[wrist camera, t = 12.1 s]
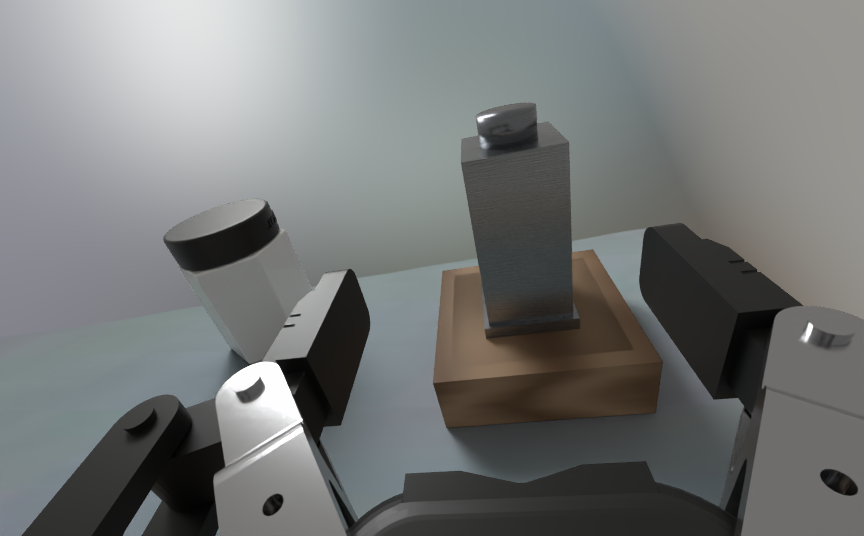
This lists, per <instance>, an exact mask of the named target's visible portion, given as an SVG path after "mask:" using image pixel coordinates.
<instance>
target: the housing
mask: <svg viewBox="0 0 864 536" xmlns="http://www.w3.org/2000/svg"><path fill="white" fill-rule="evenodd" d="M476 122H477V129H478V136H474V137H469V138H464V139H462V145H461V165H462V171H463V176H464V182H465V188H466V193H467V200H468V206H469V211H470V217H471V223H472V229H473V235H474V240H475V246H476V252H477V258H478V264H479V270H480V275H481V287H482V302H483V316H484V329H485V335H486V339H490V338H499V337H508V336H517V335H527V334H536V333H545V332H554V331H563V330H573V329H580V317H579V314H578V312H577V310H576V307H575V305H574V302H573V278H572V239H571V200H570V161H569V141H567V140H566V139H565V138H564V137H563V136H562V135H561V134H560V133H559V132H558V131H557V130H556V129H555V128H554V127H553V126H552V125H551V124H550V123H549V122H544V123H539V124H537V114H536V104H535V103H517V104H510V105H504V106H500V107H496V108H492V109H489V110H486V111H483V112H481V113H479V114H477V115H476Z"/></svg>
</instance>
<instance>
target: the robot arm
mask: <svg viewBox="0 0 864 536" xmlns="http://www.w3.org/2000/svg"><path fill="white" fill-rule="evenodd" d="M639 283H640V290H641V293H642V296H643V298H644V300H645V302H646V303H647V305H648V306H649V308H650V309H651V311H652V312H653V313H654V315H655V316H656V318H657V319H658V321H659V322H660V323H661V325H662V326H663V328H664V329H665V330H666V332H667V333H668V335H669V336H670V338H671V339H672V340H673V342H674V343H675V345H676V346H677V348H678V349H679V350H680V352H681V353H682V355H683V356H684V358H685V359H686V360H687V362H688V363H689V365H690V366H691V368H692V369H693V370H694V372H695V373H696V375H697V376H698V378H699V379H700V380H701V382H702V383H703V385H704V386H705V388H706V389H707V390H708V392H709V393H710V395H711V396H712V398H713V399H728V398H739V400H740V401H741V402H742V404H743V405H744V408H743V411H742V414H741V417H740V421H739V426H738V430H737V435H736V439H735V444H734V448H733V453H732V457H731V462H730V466H729V471H728V475H727V480H726V484H725V488H724V492H723V496H722V499H721V503H720V506H719V507H718V506H716V505H714V504H712V503H710V502H708V501H706V500H704V499H703V498H701V497H698V496H696V495H693V494H691V493H689V492H686V491H684V490H681V489H678V488H675V487H671V486H668V485H665V484H661V483H656V482H655V481H654V479H653V477H652V475H651V472H650V470H649V468H648V466H647V463H646V461H644V462H625V463H605V464H586V465H580V466H577V467H574V468H570V469H567V470H564V471H561V472H558V473H555V474H552V475H549V476H546V477H543V478H540V479H537V480H534V481H530V482H527V483H514V482H510V481H505V480H500V479H496V478H491V477H486V476H482V475H477V474H472V473H468V472H463V471H448V472H429V473H409V474H405V483H404V491H403V493H402V494H399V495H396V496H394V497H392V498H390V499H388V500H386V501H384V502H382V503H380V504H379V505H377V506H376V507H374V508H372V509H371V510H370V511H368V512H367V513H366V514H365V515H363V516H362V517H361V518H360V519H358V517H357V515H356V513H355V511H354V510H353V508H352V506H351V504H350V501H349V499H348V497H347V495H346V493H345V491H344V488H343V486H342V484H341V482H340V480H339V478H338V475H337V473H336V471H335V469H334V467H333V464H332V462H331V460H330V458H329V456H328V453H327V451H326V449H325V447H324V445H323V443H322V441H321V439H320V436H321V433H322V430H323V427H326V426H340V425H341V423H342V420H343V416H344V413H345V410H346V407H347V403H348V400H349V397H350V393H351V390H352V387H353V384H354V380H355V377H356V374H357V370H358V367H359V364H360V361H361V357H362V354H363V351H364V347H365V344H366V341H367V337H368V334H369V331H370V316H369V311H368V308H367V305H366V303H365V300H364V297H363V294H362V292H361V289H360V286H359V283H358V280H357V278H356V275H355V273H354V272H353V271H352V270H351V269H346V270H339V271H332V272H326V273H325V274H324V275H323V277H322V278H321V280H320V282H319V284H318V285H317V287H316V289H315V291H310V292H309V293H308V294H307V295H306V296H304V297H303V298H302V299H301V300H300V301H299V302H298V303H297V304H296V306H295V308H294V309H293V311H292V313H291V314H290V317H289V318H288V319H287V321H286V322H285V324H284V328H282V329H281V331H280V332H279V334H278V336H277V337H276V339H275V341H274V342H273V344H272V346H271V347H270V349H269V350H268V352H267V354H266V355H265V357H264V359H263V360H262V362H261V363H257V364H254V365H251V366H248V367H246V368H244V369H242V370H241V371H239V372H238V373H236V374H235V375H233V376H232V377H231V378H230V379H229V380H228V381H227V382H226V383H225V384H224V385H223V386H222V387H221V389H220V390H219V392H218V394H217V396H216V398H214V399H211V400H208V401H205V402H202V403H200V404H197V405H194V406H191V407H188V408H185V407H184V406H183V405H182V404H181V402H180V401H179V400H178V399H177V398H176V397H175V396H173V395H161V396H157V397H154V398H151V399H149V400H146V401H144V402H142V403H140V404H139V405H137V406H136V407H134V408H133V409H131V410H130V411H128V412H127V413H126V414H125V415H123V416H122V417H121V418H120V419H119V420H118V421H117V422H116V423H115V424H114V425H113V426H112V428H111V429H110V430H109V431H108V432H107V434H106V435H105V436H104V437H103V438H102V440H101V441H100V442H99V443H98V444H97V446H96V447H95V448H94V449H93V450H92V452H91V453H90V454H89V455H88V456H87V458H86V459H85V460H84V461H83V462H82V464H81V465H80V466H79V467H78V468H77V470H76V471H75V472H74V473H73V474H72V476H71V477H70V478H69V479H68V480H67V482H66V483H65V484H64V485H63V486H62V488H61V489H60V490H59V491H58V492H57V494H56V495H55V496H54V497H53V498H52V500H51V501H50V502H49V503H48V504H47V506H46V507H45V508H44V509H43V510H42V512H41V513H40V514H39V515H38V516H37V518H36V519H35V520H34V521H33V522H32V524H31V525H30V526H29V527H28V528H27V530H26V531H25V532H24V533H23V534H22V536H123V534H124V532H125V530H126V528H127V527H128V525H129V524H130V522H131V520H132V519H133V517H134V516H135V514H136V513H137V511H138V509H139V508H140V506H141V505H142V503H143V501H144V500H145V498H146V497H147V495H148V493H149V492H150V490H152V491H153V492H154V493H155V494H156V495H157V496H158V497H159V498H160V499H161V500H162V502H161V504H160V505H159V507H158V509H157V510H156V512H155V514H154V516H153V517H152V519H151V521H150V522H149V524H148V526H147V527H146V529H145V531H144V533H143V534H142V536H215V535H216V533H217V530H218V528H219V534H220V536H864V320H863V319H860V318H858V317H856V316H854V315H851V314H848V313H845V312H842V311H838V310H834V309H830V308H824V307H815V306H803V305H802V304H801V303H799V302H798V301H797V300H795V299H794V298H793V297H792V296H790V295H789V294H788V293H786V292H785V291H784V290H783V289H781V288H780V287H779V286H778V285H776V284H775V283H774V282H772V281H771V280H770V279H769V278H767V277H766V276H765V275H764V274H762V273H761V272H757V269H756V268H755V267H753V266H752V265H751V264H749V263H748V262H744V259H743V258H742V257H740V256H739V255H738V254H737V253H735V252H734V251H733V250H732V249H730V248H729V247H726V246H724V245H721V244H719V243H716V242H714V241H712V240H709V239H701V238H700V237H698V236H697V235H696V234H694V232H692V231H691V230H690V229H689V228H688V227H686V226H685V225H684V224H682V223H677V224H669V225H662V226H655V227H649V228H647V229H646V231H645V233H644V238H643V248H642V258H641V267H640V277H639Z"/></svg>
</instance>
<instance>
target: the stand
mask: <svg viewBox="0 0 864 536" xmlns="http://www.w3.org/2000/svg"><path fill="white" fill-rule="evenodd" d="M572 278H573V302H574V305H575V307H576V310H577V312H578V314H579V317H580V329H573V330H563V331H554V332H545V333H536V334H527V335H517V336H508V337H499V338H490V339H486V335H485V329H484V316H483V302H482V287H481V275H480V270H479V266H474V267H467V268H461V269H454V270H447V271H443V273H442V285H441V296H440V308H439V320H438V331H437V343H436V355H435V366H434V378H433V385H434V388H435V391H436V395H437V398H438V401H439V405H440V408H441V411H442V415H443V418H444V421H445V425H446V428H451V427H465V426H479V425H492V424H506V423H520V422H534V421H547V420H561V419H575V418H589V417H602V416H616V415H630V414H644V413H656V407H657V399H658V392H659V385H660V377H661V370H662V363H663V361H662V360H661V358H660V356H659V355H658V353H657V352H656V350H655V348H654V347H653V345H652V344H651V342H650V340H649V339H648V337H647V336H646V334H645V332H644V331H643V329H642V328H641V326H640V324H639V323H638V321H637V320H636V318H635V316H634V315H633V313H632V312H631V310H630V308H629V307H628V305H627V303H626V302H625V300H624V299H623V297H622V295H621V294H620V292H619V291H618V289H617V287H616V286H615V284H614V283H613V281H612V279H611V278H610V276H609V275H608V273H607V271H606V270H605V268H604V267H603V265H602V263H601V262H600V260H599V259H598V257H597V255H596V254H595V252H594V250H586V251H579V252H572Z"/></svg>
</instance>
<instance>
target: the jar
mask: <svg viewBox="0 0 864 536" xmlns="http://www.w3.org/2000/svg"><path fill="white" fill-rule="evenodd" d="M164 243H165V244H166V246H167V247H168V249H169V250H170V252H171V253H172V255H173V257H174V258H175V260H176V261H177V263H178V264H177V266H178V268H179V269H180V271H181V272H182V274H183V275H184V277H185V279H186V280H187V282H188V283H189V285H190V286H191V288H192V289H193V291H194V293H195V294H196V295H197V297H198V299H199V300H200V302H201V303H202V305H203V306H204V308H205V310H206V311H207V313H208V314H209V316H210V317H211V319H212V320H213V322H214V324H215V325H216V327H217V328H218V330H219V331H220V333H221V334H222V336H223V338H224V339H225V341H226V342H227V344H228V345H229V347H230V348H231V349H233V350H234V351H235V352H236V353H237V354H239V355H240V356H241V357H242V358H243V359H244V360H246V361H247V362H248V363H249V364H253V363H256V362H259V361H261V360H263V359H264V357H265V355H266V354H267V352H268V350H269V349H270V347H271V346H272V344H273V342H274V341H275V339H276V337H277V336H278V334H279V332H280V331H281V329H282V328H284V324H285V322H286V321H287V319H288V318H289V317H290V314H291V313H292V311H293V309H294V308H295V306H296V304H297V303H298V302H299V301H300V300H301V299H302V298H303V297H304V296H306V295H307V294H308V293H309V292H310V291H313V290H312V288H311V285H310V283H309V281H308V279H307V276H306V274H305V272H304V270H303V268H302V266H301V263H300V261H299V259H298V256H297V254H296V252H295V250H294V248H293V245H292V243H291V241H290V239H289V237H288V234H287V232H286V230H284V229H280V228H279V226H278V224H277V220H276V217H275V215H274V213H273V211H272V210H271V208H270V206H269V204H268V202H267V201H265V200H263V199H247V200H241V201H237V202H233V203H229V204H225V205H222V206H219V207H216V208H213V209H210V210H207V211H205V212H202V213H200V214H198V215H195V216H193V217H191V218H189V219H187V220H185V221H183V222H181V223H179V224H178V225H176V226H175V227H173V228H172V229H170V230H169V231H168V232H167V233H166V234H165V236H164Z"/></svg>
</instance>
